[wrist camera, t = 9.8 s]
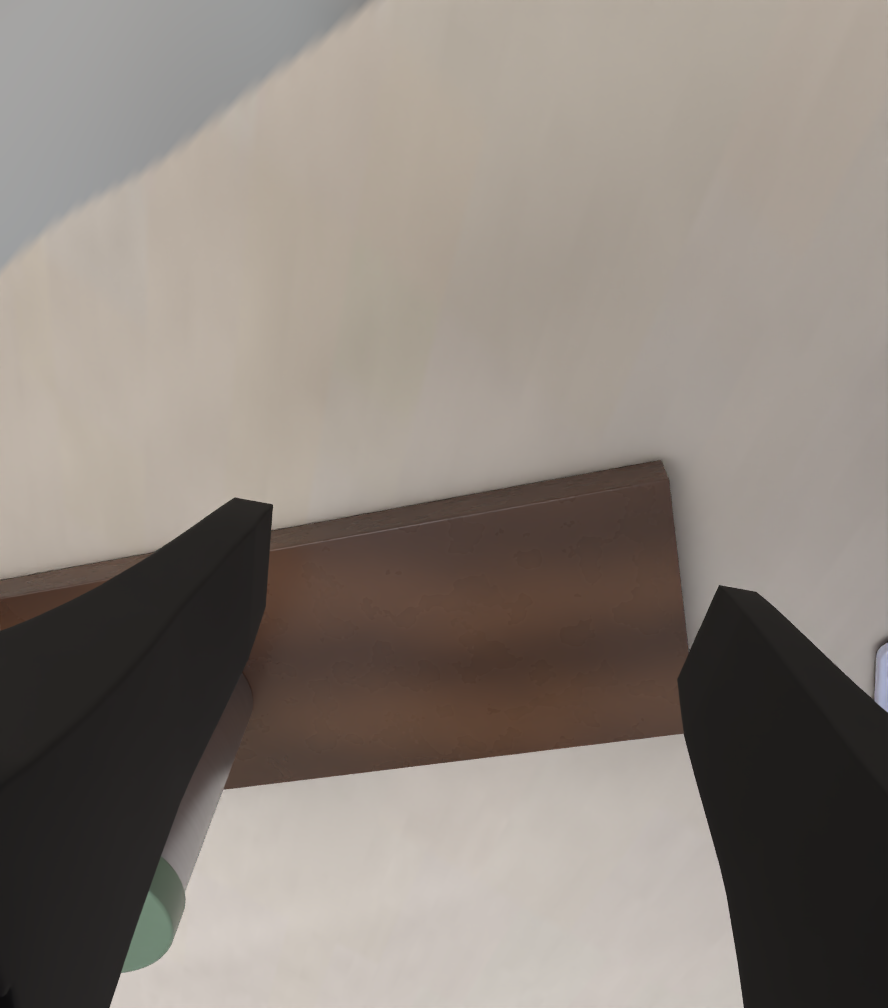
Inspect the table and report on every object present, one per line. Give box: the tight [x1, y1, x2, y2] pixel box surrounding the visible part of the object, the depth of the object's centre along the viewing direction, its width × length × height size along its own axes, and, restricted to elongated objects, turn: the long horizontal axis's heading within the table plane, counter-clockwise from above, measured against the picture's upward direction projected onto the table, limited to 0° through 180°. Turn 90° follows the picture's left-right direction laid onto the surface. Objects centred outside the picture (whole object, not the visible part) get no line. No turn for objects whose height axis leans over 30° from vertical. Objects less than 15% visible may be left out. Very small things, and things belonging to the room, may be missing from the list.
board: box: [0, 460, 689, 790], centre depth 26 cm, size 10×24×1 cm, turn 104°
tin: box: [121, 673, 253, 973], centre depth 23 cm, size 5×5×8 cm
